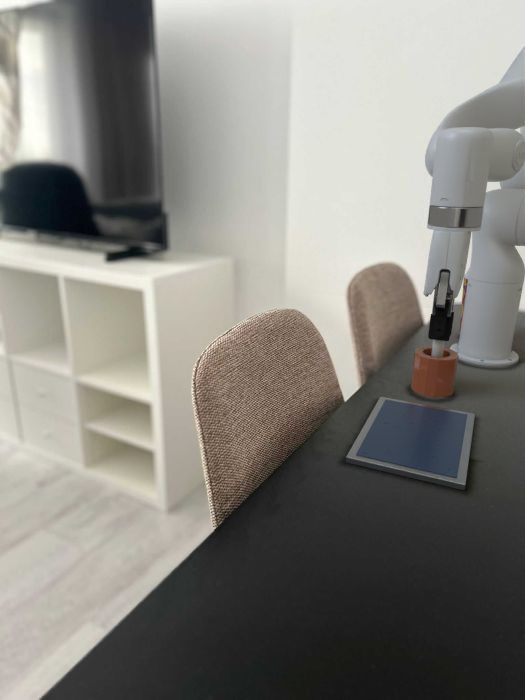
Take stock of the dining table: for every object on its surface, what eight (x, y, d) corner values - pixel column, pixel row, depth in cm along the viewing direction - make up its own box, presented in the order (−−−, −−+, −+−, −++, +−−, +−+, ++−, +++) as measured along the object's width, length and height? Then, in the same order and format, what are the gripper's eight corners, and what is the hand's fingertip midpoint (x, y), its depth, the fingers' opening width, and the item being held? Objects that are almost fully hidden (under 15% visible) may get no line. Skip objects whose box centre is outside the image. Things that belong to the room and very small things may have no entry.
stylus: (428, 383, 86) (438, 300, 81) (439, 385, 85) (450, 301, 80) (426, 387, 84) (437, 302, 79) (438, 389, 83) (449, 304, 79)
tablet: (379, 400, 81) (380, 395, 81) (474, 418, 76) (475, 412, 76) (345, 462, 64) (345, 456, 64) (464, 490, 59) (465, 484, 58)
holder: (413, 381, 89) (418, 343, 86) (454, 388, 86) (460, 349, 84) (407, 396, 83) (411, 355, 81) (450, 404, 80) (457, 362, 78)
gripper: (434, 213, 84) (422, 321, 90) (420, 222, 70) (407, 349, 76) (484, 215, 81) (467, 326, 87) (479, 225, 67) (460, 356, 73)
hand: (439, 336), depth 82 cm, fingers closed on stylus, 1 cm apart
